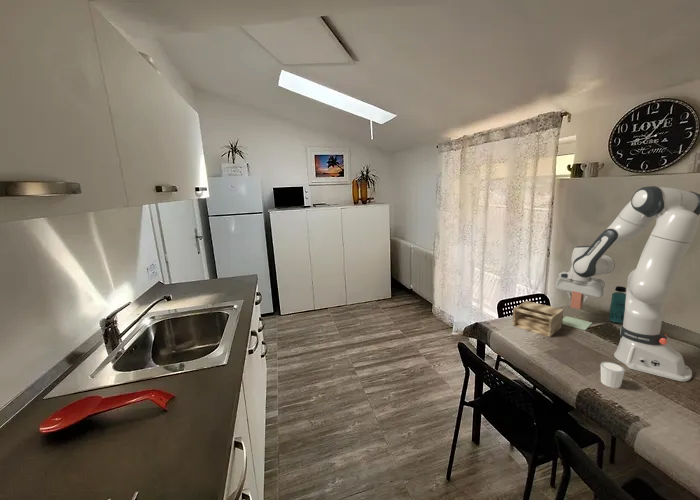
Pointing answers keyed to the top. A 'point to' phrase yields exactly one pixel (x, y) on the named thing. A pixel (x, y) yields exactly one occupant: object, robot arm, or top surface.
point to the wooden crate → (538, 318)
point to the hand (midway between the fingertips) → (577, 300)
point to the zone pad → (576, 323)
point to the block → (577, 300)
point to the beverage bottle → (618, 305)
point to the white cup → (612, 374)
